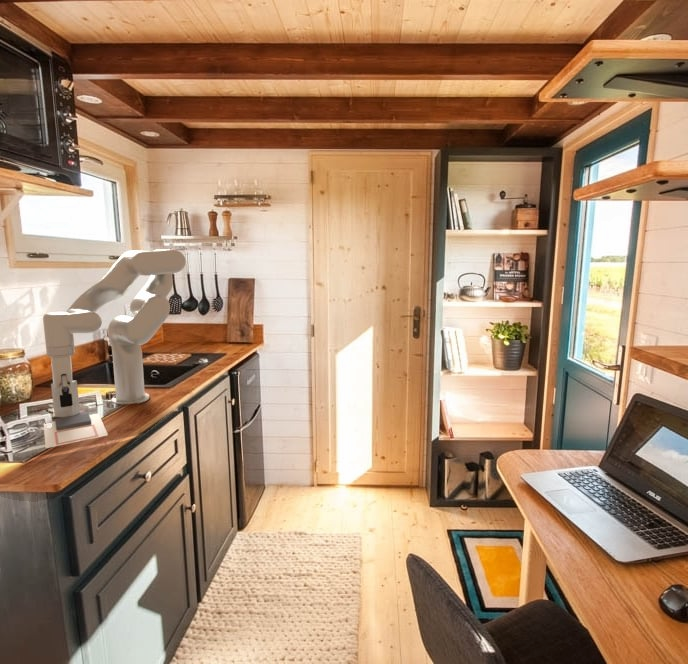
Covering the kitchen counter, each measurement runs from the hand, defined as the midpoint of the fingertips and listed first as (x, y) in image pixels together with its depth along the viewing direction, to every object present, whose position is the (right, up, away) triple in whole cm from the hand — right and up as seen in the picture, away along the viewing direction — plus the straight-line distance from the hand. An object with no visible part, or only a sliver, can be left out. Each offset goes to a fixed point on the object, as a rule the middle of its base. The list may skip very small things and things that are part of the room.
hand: (65, 402), depth 136 cm
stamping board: (+10, -7, -10) cm, 16 cm away
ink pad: (+6, -6, -6) cm, 10 cm away
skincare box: (0, -5, +1) cm, 5 cm away
